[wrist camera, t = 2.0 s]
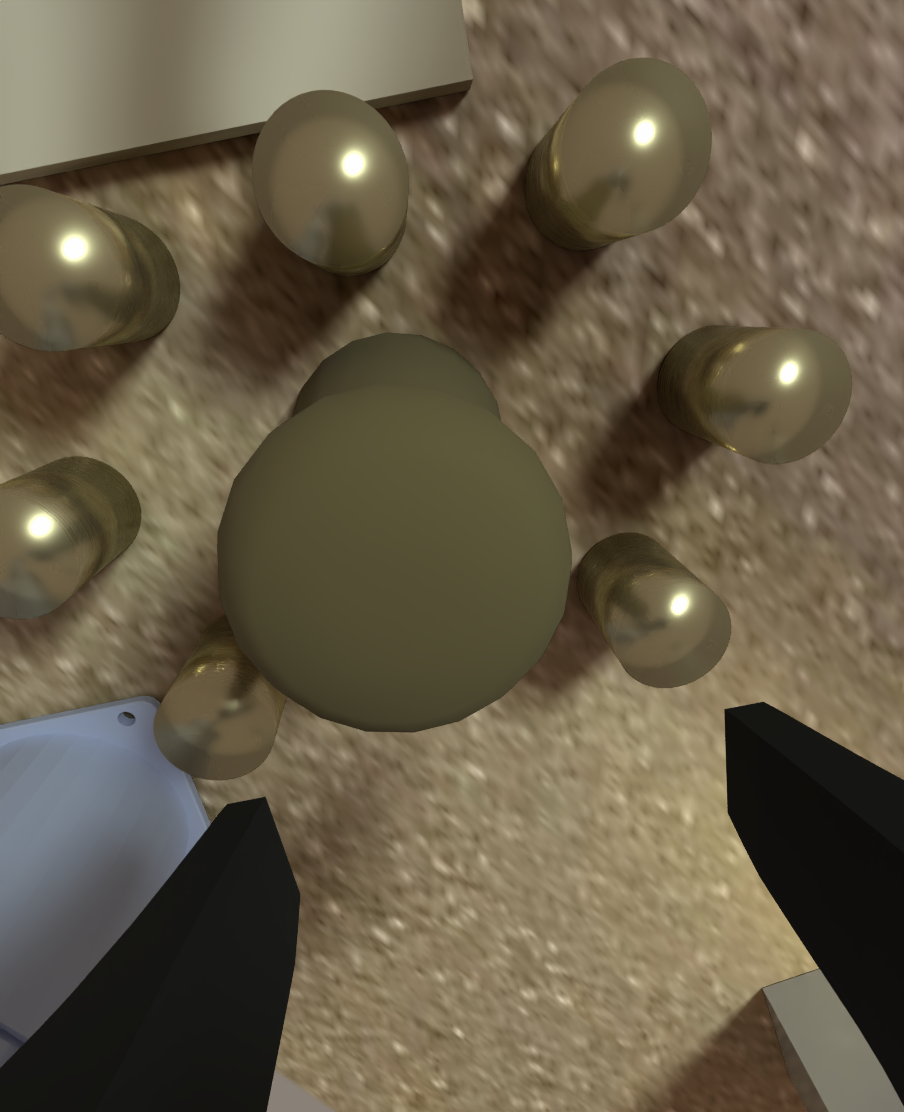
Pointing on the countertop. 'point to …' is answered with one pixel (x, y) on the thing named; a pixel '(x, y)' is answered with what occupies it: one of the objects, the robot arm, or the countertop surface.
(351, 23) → the pale grey metal board
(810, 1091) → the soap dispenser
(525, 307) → the countertop surface
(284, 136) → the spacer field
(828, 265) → the countertop surface
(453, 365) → the cork
